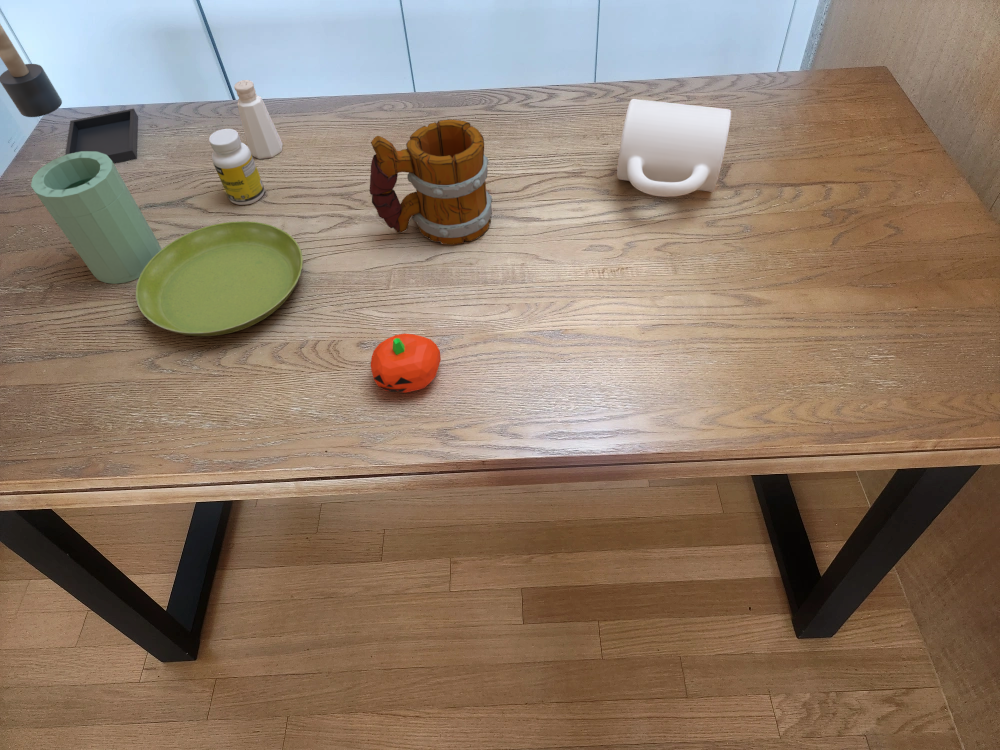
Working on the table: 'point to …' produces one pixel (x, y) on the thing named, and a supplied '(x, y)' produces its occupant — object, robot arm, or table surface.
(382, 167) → the mug
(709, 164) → the mug
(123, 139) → the tray
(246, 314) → the saucer
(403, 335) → the pumpkin
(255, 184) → the supplement bottle
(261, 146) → the salt shaker
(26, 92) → the wooden handled plunger
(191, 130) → the table surface
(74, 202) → the jar
